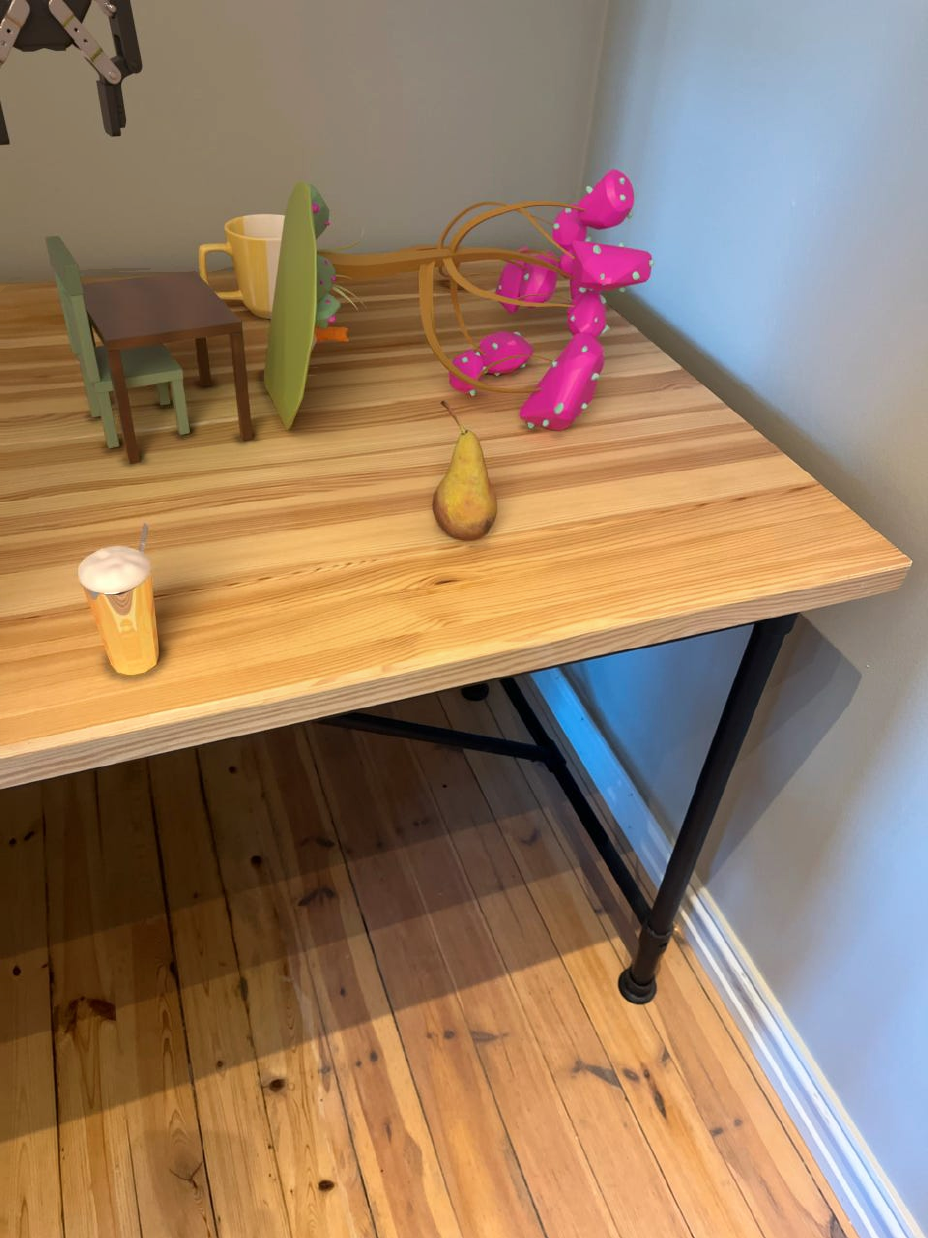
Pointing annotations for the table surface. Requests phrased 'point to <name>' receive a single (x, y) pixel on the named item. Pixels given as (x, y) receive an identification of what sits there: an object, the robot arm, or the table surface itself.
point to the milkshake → (123, 605)
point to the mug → (250, 259)
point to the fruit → (465, 491)
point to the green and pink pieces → (522, 282)
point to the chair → (137, 362)
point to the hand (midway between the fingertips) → (59, 138)
